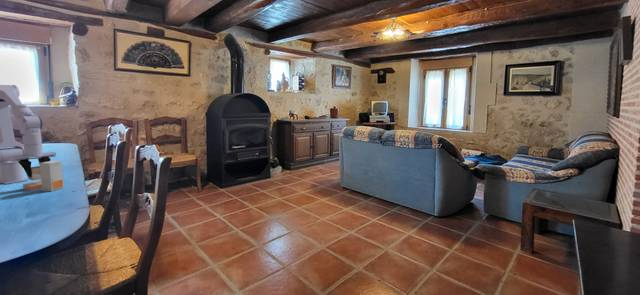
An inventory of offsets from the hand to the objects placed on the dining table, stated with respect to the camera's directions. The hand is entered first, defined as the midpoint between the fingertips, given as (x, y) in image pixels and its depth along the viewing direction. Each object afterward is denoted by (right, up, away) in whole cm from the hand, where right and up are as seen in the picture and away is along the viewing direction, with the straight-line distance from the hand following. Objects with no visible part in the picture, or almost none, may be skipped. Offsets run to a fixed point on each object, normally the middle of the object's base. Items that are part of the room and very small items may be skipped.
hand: (36, 175), depth 129 cm
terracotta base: (0, -5, +1) cm, 6 cm away
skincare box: (+8, -6, -1) cm, 10 cm away
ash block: (0, -1, 0) cm, 1 cm away
